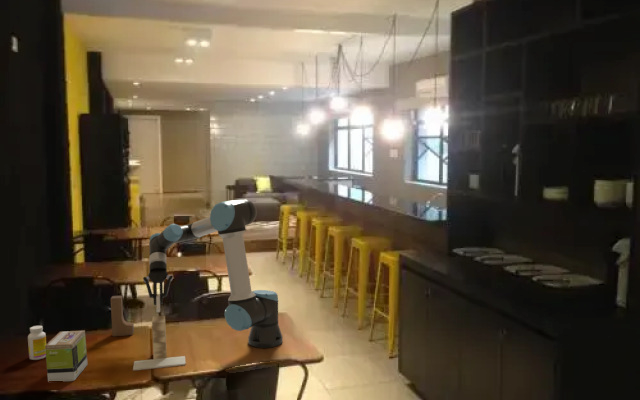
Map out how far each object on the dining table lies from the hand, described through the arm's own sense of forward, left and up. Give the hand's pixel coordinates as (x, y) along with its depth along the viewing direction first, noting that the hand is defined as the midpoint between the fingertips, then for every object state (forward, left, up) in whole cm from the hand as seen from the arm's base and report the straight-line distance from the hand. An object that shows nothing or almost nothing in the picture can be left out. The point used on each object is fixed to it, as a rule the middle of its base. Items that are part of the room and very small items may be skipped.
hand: (158, 310), depth 236 cm
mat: (0, +18, -16) cm, 25 cm away
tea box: (+34, +18, -17) cm, 42 cm away
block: (0, +10, -16) cm, 19 cm away
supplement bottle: (+49, -3, -17) cm, 51 cm away
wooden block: (+17, -22, -17) cm, 32 cm away
